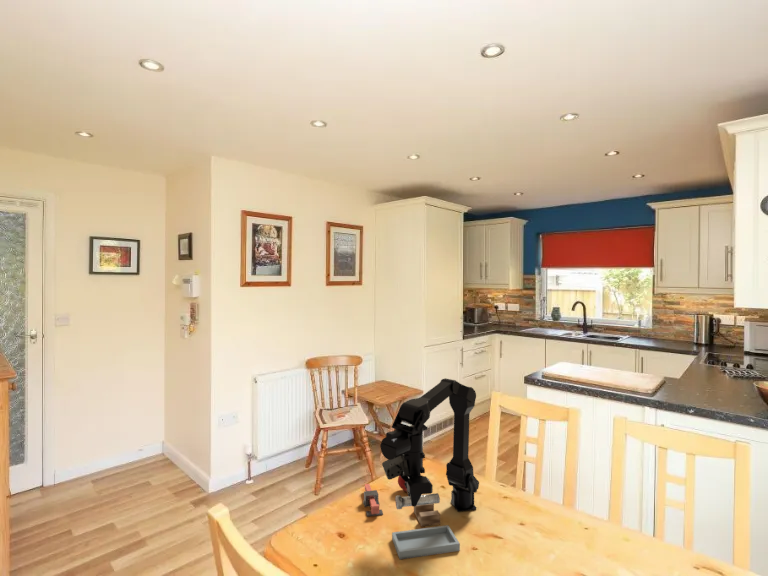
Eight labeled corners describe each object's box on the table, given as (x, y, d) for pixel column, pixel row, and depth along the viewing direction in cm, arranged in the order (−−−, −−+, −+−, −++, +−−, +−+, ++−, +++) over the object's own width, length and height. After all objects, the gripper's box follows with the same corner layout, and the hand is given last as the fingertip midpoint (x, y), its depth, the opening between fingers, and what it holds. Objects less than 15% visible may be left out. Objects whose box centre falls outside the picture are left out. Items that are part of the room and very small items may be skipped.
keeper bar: (370, 488, 142) (370, 481, 142) (379, 513, 127) (379, 505, 127) (363, 488, 142) (363, 482, 142) (371, 514, 126) (371, 506, 126)
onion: (414, 487, 145) (414, 465, 145) (414, 496, 139) (414, 472, 139) (398, 486, 145) (398, 464, 145) (397, 495, 140) (397, 472, 140)
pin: (436, 501, 117) (436, 489, 117) (440, 507, 114) (440, 495, 114) (395, 505, 115) (395, 493, 115) (398, 511, 111) (398, 499, 111)
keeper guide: (377, 500, 136) (377, 490, 136) (382, 514, 128) (382, 503, 128) (363, 502, 135) (363, 491, 135) (367, 516, 127) (367, 505, 127)
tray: (448, 531, 119) (448, 525, 119) (459, 550, 110) (459, 543, 110) (392, 539, 115) (392, 532, 115) (399, 559, 107) (399, 552, 107)
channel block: (431, 509, 131) (431, 500, 131) (440, 524, 123) (440, 514, 123) (413, 511, 129) (413, 502, 129) (421, 526, 122) (421, 516, 122)
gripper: (378, 437, 122) (378, 489, 122) (391, 465, 103) (391, 526, 103) (414, 435, 124) (414, 486, 124) (433, 461, 105) (433, 521, 105)
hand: (412, 503), depth 114 cm, fingers closed on pin, 2 cm apart
